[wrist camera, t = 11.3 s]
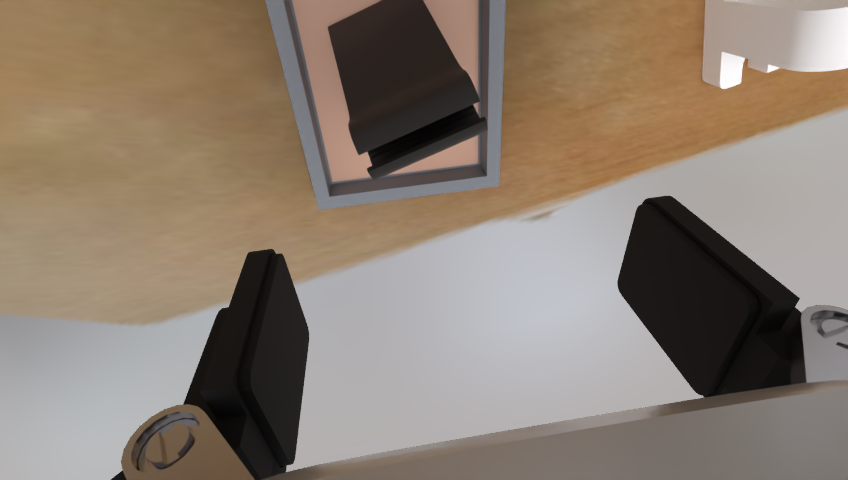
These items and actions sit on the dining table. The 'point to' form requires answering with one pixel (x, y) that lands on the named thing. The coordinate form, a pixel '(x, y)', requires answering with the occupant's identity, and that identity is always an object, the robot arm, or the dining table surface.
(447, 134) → the phone stand
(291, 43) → the grey tray
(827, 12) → the cable organizer
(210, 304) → the dining table surface
